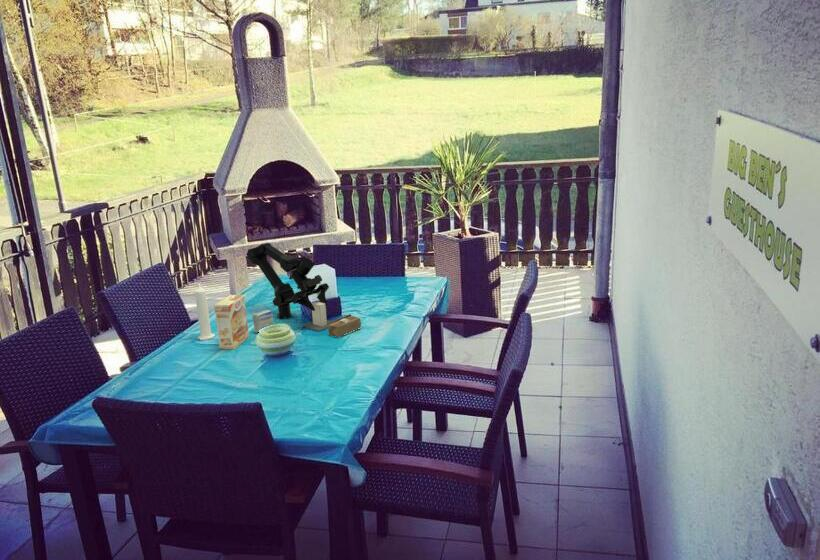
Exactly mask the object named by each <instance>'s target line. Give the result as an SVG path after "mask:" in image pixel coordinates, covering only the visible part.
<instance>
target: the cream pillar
mask: <svg viewBox="0 0 820 560" xmlns="http://www.w3.org/2000/svg"><path fill="white" fill-rule="evenodd" d="M311 303H312V305H313V306H314V308H315V311H313V310H311V316H312V321H313V324H315V325H319V326H325V325H327V320H328V319H327V306H325V303H322V302H321V301H314V302H311Z"/></svg>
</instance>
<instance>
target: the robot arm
mask: <svg viewBox="0 0 820 560" xmlns="http://www.w3.org/2000/svg"><path fill="white" fill-rule="evenodd" d="M246 257H247V258H248V260H249V261H250V262H251V263H252V264H254V265H255V266H258V267H259V269H260V270H261V272H262V273H263V275H264V277H265V278H266V279H267V280H268V282H269V283H270V285H271V287H272V288H273V289H274V294H273V295H274V298H273V299H272V304H273V306H274V307H277V311H278V313H277V314H276V315H277V318H278V319H279V320H282V319H287V318H293V317H294V316H293V313H292V312H291V311H292V310H291V304H292V303H293V304H294V305H295V304H298V305H301V306H303V307H306V308H308V309H309V310H311V311H312V310H313V311H315V308H314V306H313V305H312V303H313V302H311V300H310V297H309V296H312V295H314V294H316V295H317V296H316V298H317V299H318V300H319V302H321V303H325V307H327V306H328V302H327V298H326V292H327V291H328V290H329V288H330V286H329V284H328V283H325V282H324V283H322V282H323V278H322V276H321V275H320V274H317V275H314V277H313V278H311V277H307V276H308V275H309V273H310V272H311V270H312V269H313V268H314V266H315V263H314V261H313V260H311V259H310V258H307V257H306V256H301V257H300V258H299V259H298V257H296V256H293V255H288V254H286V253H284V252H282V251H281V250H279V249H278V248H277V247H275V246H273V245H272V244H271V243H270V242H265V243H261V244H259V245H258V246H256V247H251V248H249V249H247V252H246ZM268 257H270V258H271V259H272V260H274V261H275V262H277V263H278V264H279V266H280V269H282V270H283V271H284V272H286V273H289V272H291V273H289V278H288V279H289V280H293V281H294V282H295V284H296V285H297V287H296V289H297V290H300V291H297V292H295V291H294V288H293V287H292V286H291V285H290V283H289V282H287V283H284V282H283V281H282V279H281V278H280V276H279V275H278V273H277V272H276V271H275V269H274V268H273V266H272V265H271V264H270V262H269V261H268ZM321 283H322V284H321Z"/></svg>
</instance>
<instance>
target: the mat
mask: <svg viewBox="0 0 820 560" xmlns="http://www.w3.org/2000/svg"><path fill="white" fill-rule="evenodd" d="M331 321H332V320H329V319H327V323H328V322H331ZM301 326H302V327H301V328H304V327H305V328H304V329H307V328H309V329H308V330H311V329H312V330H311V331H314V330H316V331H315V332H318V331H320V332H322V331H321V330H323V331H325V330H327V329H326V328H328V325H325V326H319V325H315V324H313V320H312V321H310V322H307V323H305V324H302V325H301ZM324 329H325V330H324Z"/></svg>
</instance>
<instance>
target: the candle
mask: <svg viewBox="0 0 820 560" xmlns="http://www.w3.org/2000/svg"><path fill="white" fill-rule="evenodd" d="M194 296H195V297H194V298H195V303H196V310H197V317H198V325H199V333H200V335H198V337H197V339H198V340H199V339H200V341H208V340H212V339H214V338H215V333H212V328H211V322H210V321H211V320H210V313H209V308H208V307H209V306H208V305H209V304H208V299H207V292H206V289H205V288H203V287H202V285H201V284H200V282H199V283H197V288H196V289H195V290H194Z"/></svg>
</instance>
